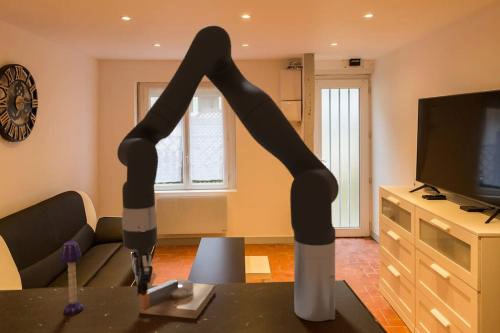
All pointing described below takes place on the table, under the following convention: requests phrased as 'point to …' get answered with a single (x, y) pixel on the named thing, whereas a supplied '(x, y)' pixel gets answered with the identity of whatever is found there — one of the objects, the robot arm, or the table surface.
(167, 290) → the orange-tipped lever
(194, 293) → the board
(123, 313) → the table surface
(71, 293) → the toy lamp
